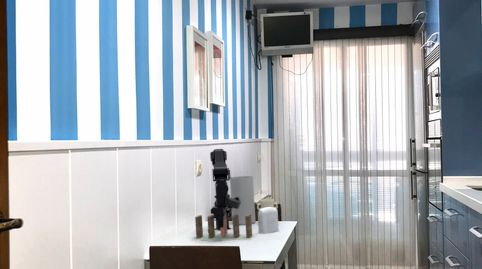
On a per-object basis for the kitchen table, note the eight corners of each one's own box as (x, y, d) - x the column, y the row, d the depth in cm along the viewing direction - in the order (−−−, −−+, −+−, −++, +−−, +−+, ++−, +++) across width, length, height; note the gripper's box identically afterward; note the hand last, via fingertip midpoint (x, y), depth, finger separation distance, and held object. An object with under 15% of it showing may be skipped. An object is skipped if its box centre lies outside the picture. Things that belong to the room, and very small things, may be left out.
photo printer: (274, 230, 247) (273, 205, 247) (280, 231, 244) (278, 206, 244) (257, 234, 241) (256, 208, 242) (262, 235, 238) (261, 208, 238)
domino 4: (246, 238, 230) (245, 216, 230) (248, 236, 235) (247, 214, 235) (249, 238, 230) (248, 216, 230) (252, 236, 234) (251, 214, 235)
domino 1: (196, 238, 236) (195, 217, 236) (199, 236, 241) (198, 215, 241) (199, 238, 236) (198, 217, 236) (203, 236, 240) (201, 215, 240)
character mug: (277, 222, 271) (276, 198, 271) (279, 224, 264) (278, 199, 264) (257, 224, 270) (255, 199, 270) (258, 226, 263) (257, 201, 263)
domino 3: (233, 238, 231) (232, 216, 232) (236, 236, 236) (235, 214, 236) (236, 238, 231) (235, 216, 231) (239, 236, 236) (238, 214, 236)
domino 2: (208, 238, 234) (207, 216, 235) (211, 236, 239) (210, 215, 239) (211, 238, 234) (210, 216, 234) (215, 236, 239) (213, 215, 239)
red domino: (221, 236, 233) (219, 214, 233) (224, 234, 238) (222, 212, 238) (224, 236, 233) (223, 214, 233) (227, 234, 237) (226, 212, 238)
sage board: (191, 241, 232) (190, 240, 232) (200, 235, 245) (200, 234, 245) (250, 241, 225) (250, 239, 225) (256, 235, 238) (256, 234, 238)
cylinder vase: (244, 220, 284) (242, 176, 284) (260, 222, 275) (257, 176, 275) (227, 224, 275) (225, 178, 276) (243, 226, 266) (240, 178, 266)
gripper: (233, 194, 224) (235, 230, 224) (243, 190, 242) (245, 222, 242) (209, 195, 227) (211, 230, 227) (221, 190, 245) (222, 223, 245)
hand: (223, 226), depth 235 cm, fingers closed on red domino, 5 cm apart
